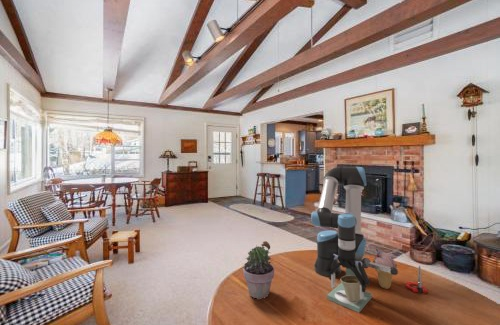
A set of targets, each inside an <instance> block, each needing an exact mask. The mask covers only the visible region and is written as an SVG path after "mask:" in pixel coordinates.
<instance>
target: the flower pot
mask: <svg viewBox="0 0 500 325" xmlns="http://www.w3.org/2000/svg"><path fill="white" fill-rule="evenodd" d="M339 280H340V283H341V282H342V284H343V286H344V290H345V293H346V297H347V299H348V300H350V301H359V300H361V299H360V284H361V283H360V281H359V280H358V278H357V277H356V276H353V275H348V276H346V275H344V276H341V277H340V279H339Z"/></svg>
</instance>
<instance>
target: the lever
mask: <svg viewBox="0 0 500 325" xmlns="http://www.w3.org/2000/svg"><path fill="white" fill-rule="evenodd" d="M361 261H362V262H363V267H364V269H368V268H372V269H374V270H375V269H378V270H382V271H385V272H389V273H391V274H392V276H397V275H398V273H399V271H398V269H397V268H395V267H388V266H384V265H381V264H377V263H373V261H371V260H370V258H368V257H363V258H362V260H361Z"/></svg>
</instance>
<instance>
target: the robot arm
mask: <svg viewBox="0 0 500 325" xmlns="http://www.w3.org/2000/svg"><path fill="white" fill-rule="evenodd" d="M322 185H323V187H322V190H321V194H320V197H319V201H318V207H317V211H316V210H314V211H312V212H311V215H310V217H311V218H310V220H311V221H310V222H311V224H312V226H316V227H320V228H321V227H323V228H333V229H337V231H336V230H330V229H329V230H322V231H320V232H318V233H317V235H316V237H317V238H316V244H317V245H316V250H317V251H316V252H317V255H316V259H315V263H314V272H316V274H318V275H321V276H324V277H329V280H330V281H331V282H330V287H331V289H334V288H336V277H338V276H340V275H341V273H342V268H345V269H346V268H348V269H351V271H353V272H354V274H355V275H356V277H357V278H358V280H359V281H360V283H361V284H360V299H362V298H363V297H364V292H365V291H367V287H366V286H369V285H370V284H371V280H370V279H369V276H368V274H367V272H366V270H365V269H366V268H364V267H363V262H362V261H360V262H359V261H356V260H355V253H356V254H360V255H363V258H365V252H366V247H367V245H366V244H367V238H366V237H364V236H365V235H364V233H363V232H362V230H361V228H362V191H363V190H365V187H366V186H367V177H366V171H365V168H364V167H362V166H335V167H333V168H331V169H330V170H328V171H327V172H326V174H324V176H323V178H322ZM339 186H343V188H344V190H345V209H344V210H345V211H344V212H345V213H337V212H336V213H335V212H332V211H333V206H334V202H335V195H336V191H337V190H336V189H337V188H338V187H339ZM355 264H357V266H358V268H359V270H360V272H359V271H358V270H357V267H356V266H355ZM341 266H342V268H341ZM360 273H361V274H360Z"/></svg>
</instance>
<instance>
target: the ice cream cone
mask: <svg viewBox="0 0 500 325" xmlns="http://www.w3.org/2000/svg"><path fill="white" fill-rule="evenodd" d="M375 251H376V252H377V253H376V255H375V256H374V259H373V261H372V262H373V263H377V264H381V265H384V266H388V267H395V268H396V269H397V268H398V265H397V262H396V260H395V259H393V257H395V256H394V255H393V254H390V253H387V252H382V251H381V252H380V251H379V249H377V248H376V249H375ZM374 271H376V273H377V279H378V284H379V286H380V287H381V288H383V289H387V290H388V289H390V288H391V287H392V286H391V285H392V281H393V280H392V279H393V275H392V274H391V273H389V272H385V271H382V270H378V269H375V268H374Z"/></svg>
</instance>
